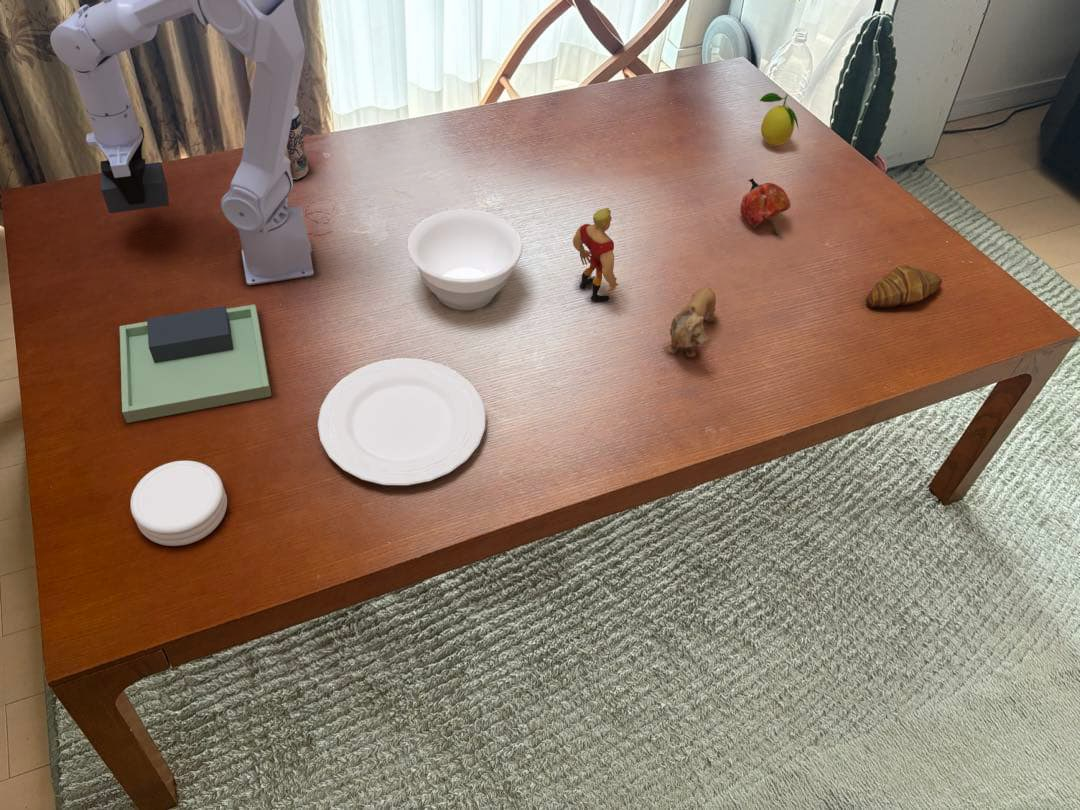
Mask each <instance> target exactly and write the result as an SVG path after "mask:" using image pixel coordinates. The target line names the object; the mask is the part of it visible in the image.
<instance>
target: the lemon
mask: <svg viewBox="0 0 1080 810" xmlns="http://www.w3.org/2000/svg"><path fill="white" fill-rule="evenodd" d="M788 95H789V93H787V94H786V95H785V97H782V96H780V95H778V94H777V93H774V92H769V93H766V94H764V95H762V97H761V98H760V99H759V102H763V103H773V102H774V103H775V102H780V101H783V105H777V106H773V107H772V108H770V109H769V110H768V112H767V113H766V114H765V115H764V117H763V120H762V123H761V127H760V133H761V136H762V138H763V139H764V141H765V142H767V143H768V144H769V145H770V146H771V147H775V146H779V145H780V146H781V145H783V144H785V143H787V142H788V141H789V140H790V139H791V137H792V136H793V132H794V129H795V125H796V127H797V129H798V130H800V128H799V121H798V118H797V115H796V113H795V112H794V110H793V109H792V108H791V107H789V106H788V105H787V103H786V102H787V98H788Z"/></svg>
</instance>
